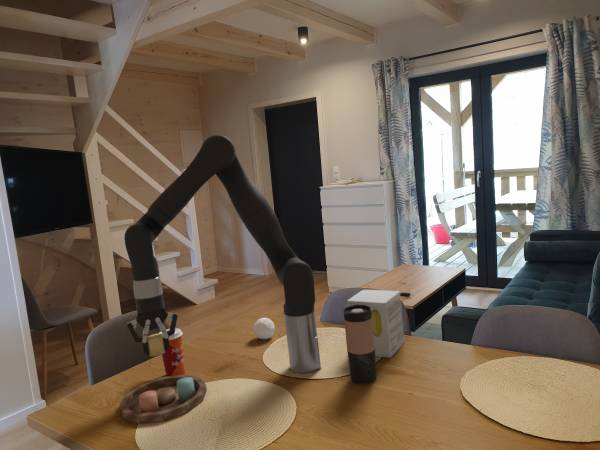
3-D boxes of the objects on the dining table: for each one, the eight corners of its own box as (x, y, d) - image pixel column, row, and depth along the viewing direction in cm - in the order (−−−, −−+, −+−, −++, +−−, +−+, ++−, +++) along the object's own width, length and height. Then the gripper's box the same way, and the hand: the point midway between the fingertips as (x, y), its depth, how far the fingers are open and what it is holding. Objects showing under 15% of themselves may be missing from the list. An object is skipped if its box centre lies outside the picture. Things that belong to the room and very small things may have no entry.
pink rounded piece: (161, 407, 119) (158, 389, 119) (156, 416, 115) (153, 397, 114) (144, 409, 119) (141, 391, 119) (139, 418, 115) (136, 399, 114)
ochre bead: (166, 354, 126) (163, 336, 126) (149, 357, 125) (147, 340, 124) (164, 348, 130) (162, 332, 130) (148, 352, 129) (146, 335, 128)
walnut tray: (212, 381, 134) (211, 371, 134) (196, 421, 112) (195, 410, 112) (138, 389, 134) (137, 379, 133) (109, 431, 112) (107, 420, 112)
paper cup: (181, 379, 137) (175, 335, 136) (158, 380, 139) (151, 336, 137) (192, 368, 145) (186, 326, 143) (170, 368, 146) (164, 327, 145)
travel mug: (380, 373, 127) (374, 305, 125) (373, 386, 120) (366, 314, 118) (354, 371, 130) (348, 304, 128) (346, 383, 123) (339, 313, 121)
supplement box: (351, 353, 143) (345, 300, 141) (367, 338, 154) (363, 288, 152) (390, 358, 136) (386, 302, 134) (405, 342, 147) (400, 290, 145)
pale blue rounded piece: (197, 393, 125) (194, 376, 124) (193, 401, 121) (190, 383, 120) (181, 395, 125) (178, 378, 124) (177, 403, 121) (174, 385, 120)
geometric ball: (260, 345, 166) (250, 326, 169) (279, 334, 167) (269, 315, 170) (258, 342, 159) (247, 322, 162) (278, 330, 160) (267, 311, 163)
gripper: (121, 301, 119) (130, 363, 121) (176, 291, 124) (184, 350, 126) (121, 295, 126) (130, 353, 128) (173, 286, 131) (181, 342, 133)
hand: (157, 352), depth 127 cm, fingers closed on ochre bead, 4 cm apart
